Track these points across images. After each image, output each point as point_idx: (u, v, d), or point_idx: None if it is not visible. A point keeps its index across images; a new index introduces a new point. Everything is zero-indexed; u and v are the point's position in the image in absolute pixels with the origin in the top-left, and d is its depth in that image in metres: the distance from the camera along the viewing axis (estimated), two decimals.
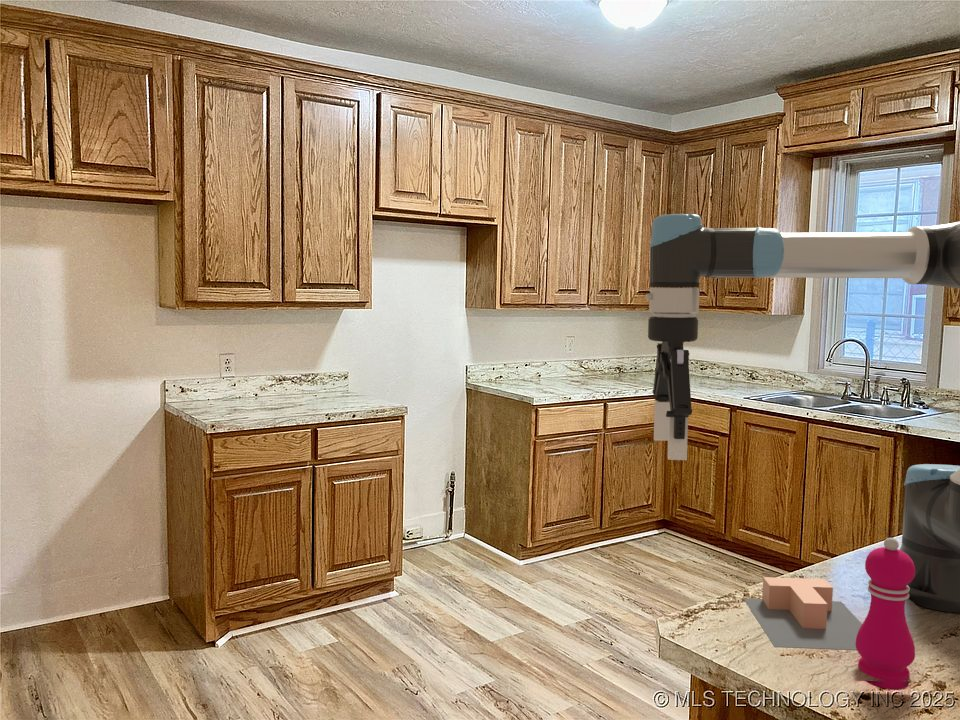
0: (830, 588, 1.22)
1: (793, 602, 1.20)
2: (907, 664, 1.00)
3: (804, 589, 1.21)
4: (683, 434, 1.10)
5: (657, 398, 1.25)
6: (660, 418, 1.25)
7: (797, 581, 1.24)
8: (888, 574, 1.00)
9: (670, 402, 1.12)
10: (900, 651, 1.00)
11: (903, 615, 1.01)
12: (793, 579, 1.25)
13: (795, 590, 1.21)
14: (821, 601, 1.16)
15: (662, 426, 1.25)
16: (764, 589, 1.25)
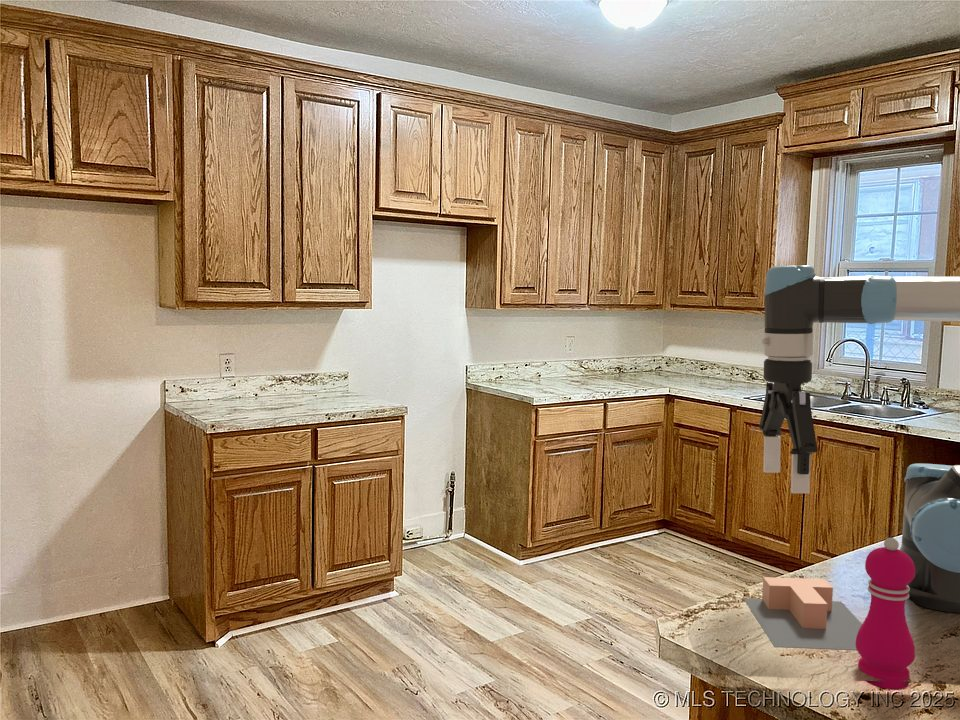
0: (830, 588, 1.22)
1: (793, 602, 1.20)
2: (907, 664, 1.00)
3: (804, 589, 1.21)
4: (807, 470, 1.19)
5: (766, 433, 1.34)
6: (770, 452, 1.34)
7: (797, 581, 1.24)
8: (888, 574, 1.00)
9: (793, 440, 1.21)
10: (901, 651, 1.00)
11: (903, 615, 1.01)
12: (793, 579, 1.25)
13: (795, 590, 1.21)
14: (821, 601, 1.16)
15: (772, 459, 1.34)
16: (764, 589, 1.25)
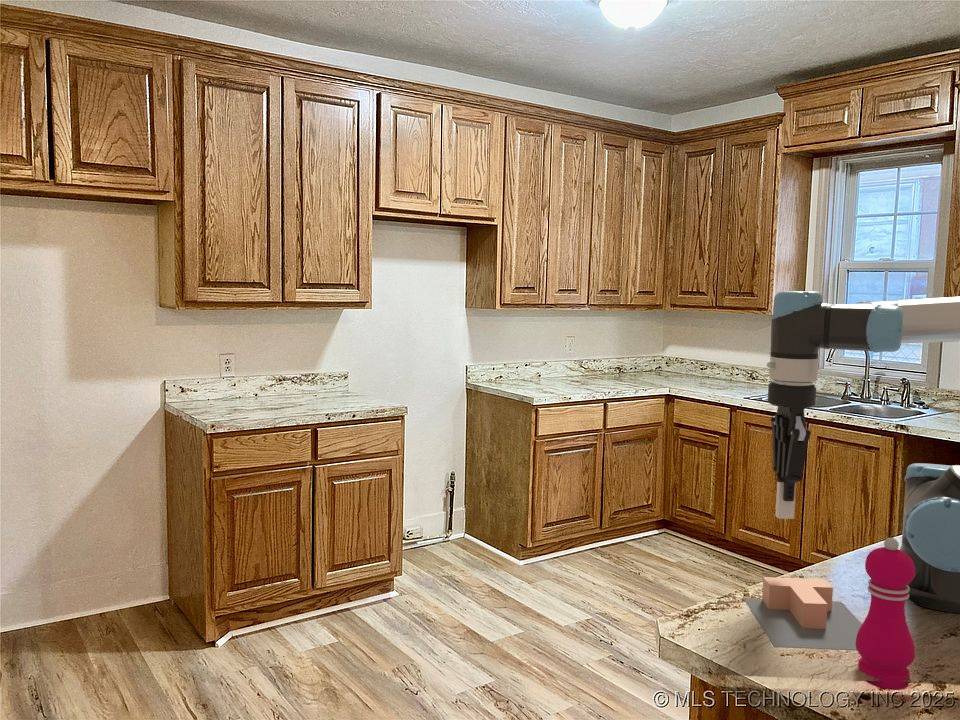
0: (830, 588, 1.22)
1: (793, 602, 1.20)
2: (907, 664, 1.00)
3: (804, 589, 1.21)
4: (792, 497, 1.27)
5: (780, 473, 1.30)
6: None
7: (797, 581, 1.24)
8: (888, 574, 1.00)
9: (782, 468, 1.27)
10: (900, 651, 1.00)
11: (903, 615, 1.01)
12: (793, 579, 1.25)
13: (795, 590, 1.21)
14: (821, 601, 1.16)
15: None
16: (764, 589, 1.25)
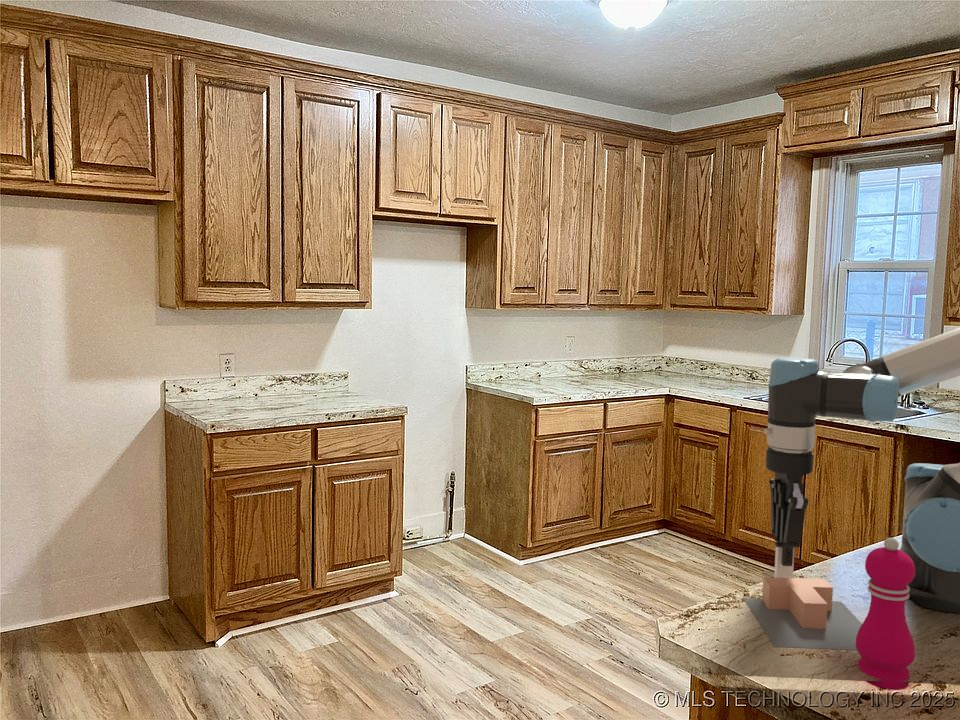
0: (830, 588, 1.22)
1: (793, 602, 1.20)
2: (907, 664, 1.00)
3: (804, 589, 1.21)
4: (791, 562, 1.28)
5: (778, 538, 1.31)
6: None
7: (797, 581, 1.24)
8: (888, 574, 1.00)
9: (781, 533, 1.28)
10: (900, 651, 1.00)
11: (903, 615, 1.01)
12: (793, 579, 1.25)
13: (795, 590, 1.21)
14: (821, 601, 1.16)
15: None
16: (764, 589, 1.25)
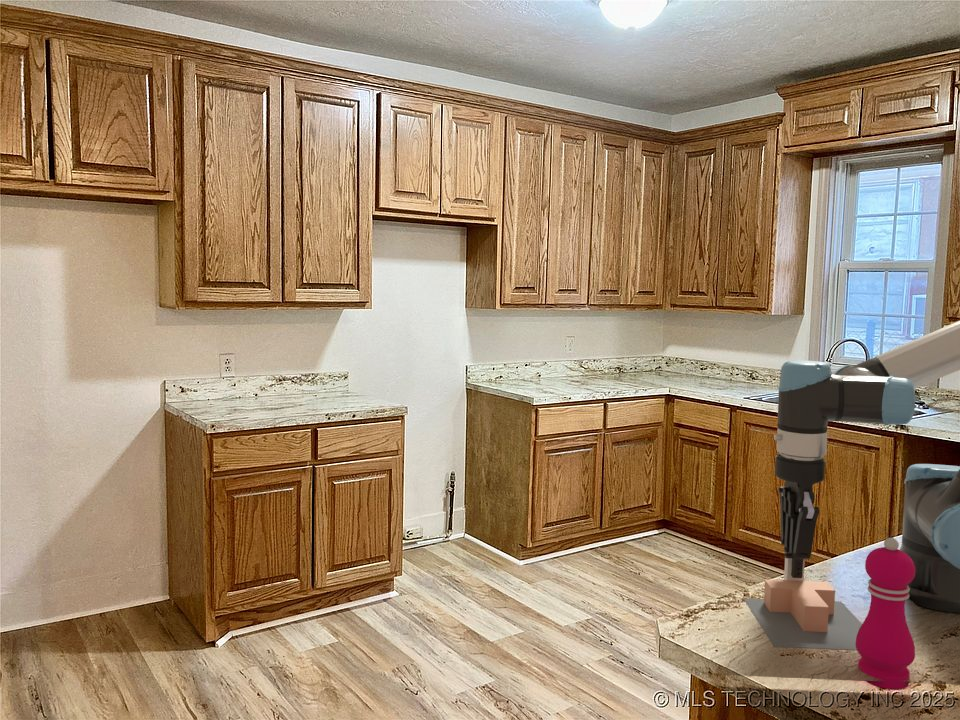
0: (832, 591, 1.21)
1: (795, 604, 1.19)
2: (907, 664, 1.00)
3: (805, 592, 1.20)
4: (801, 574, 1.23)
5: (788, 548, 1.25)
6: None
7: (799, 584, 1.23)
8: (888, 574, 1.00)
9: (790, 544, 1.23)
10: (900, 651, 1.00)
11: (903, 615, 1.01)
12: (795, 582, 1.24)
13: (796, 593, 1.19)
14: (823, 604, 1.15)
15: None
16: (765, 591, 1.24)
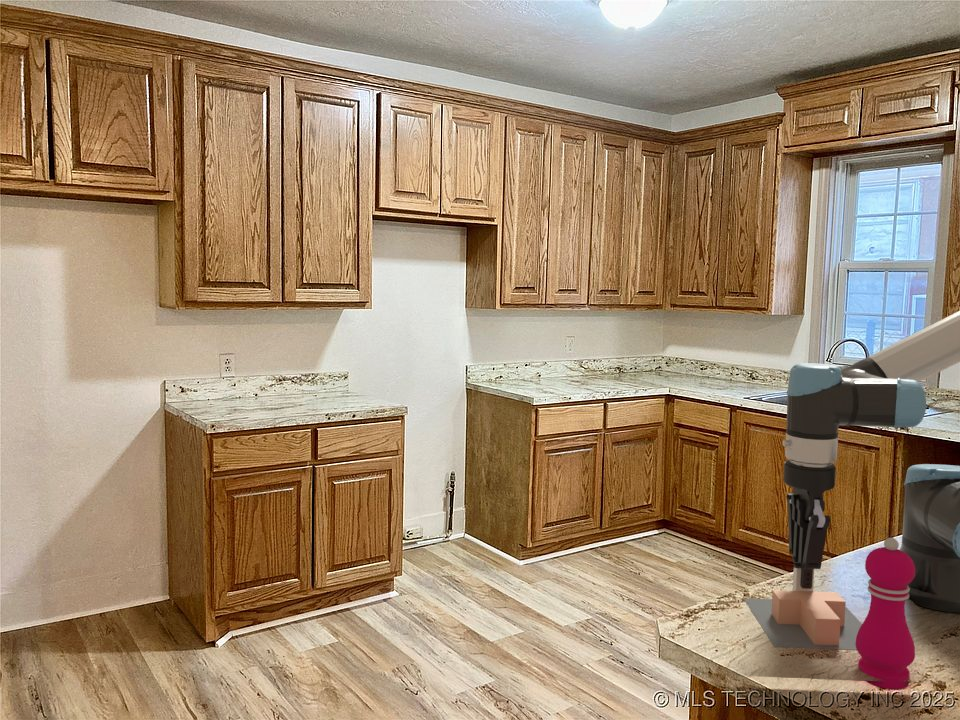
0: (843, 602, 1.16)
1: (804, 616, 1.15)
2: (907, 664, 1.00)
3: (815, 604, 1.15)
4: (810, 584, 1.19)
5: (797, 558, 1.21)
6: None
7: (808, 595, 1.19)
8: (888, 574, 1.00)
9: (800, 553, 1.19)
10: (900, 651, 1.00)
11: (903, 615, 1.01)
12: (804, 593, 1.19)
13: (806, 604, 1.15)
14: (834, 616, 1.11)
15: None
16: (773, 602, 1.20)
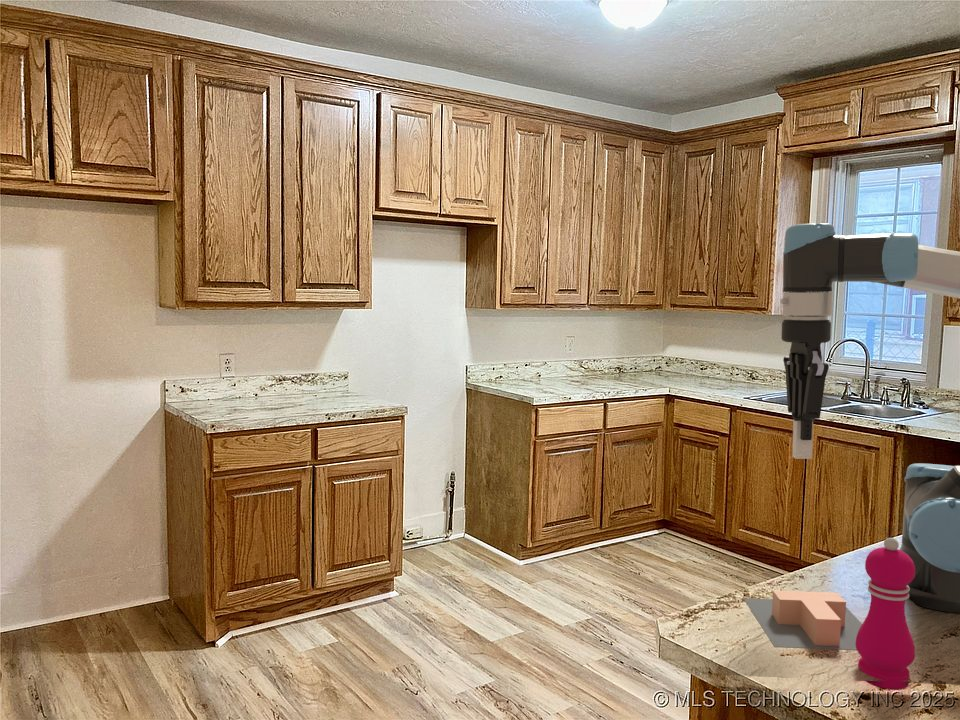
0: (843, 602, 1.16)
1: (805, 617, 1.15)
2: (907, 664, 1.00)
3: (816, 604, 1.15)
4: (810, 436, 1.25)
5: (796, 413, 1.27)
6: None
7: (809, 595, 1.18)
8: (888, 574, 1.00)
9: (799, 407, 1.25)
10: (900, 651, 1.00)
11: (903, 615, 1.01)
12: (804, 593, 1.19)
13: (807, 605, 1.15)
14: (835, 617, 1.11)
15: None
16: (774, 603, 1.20)
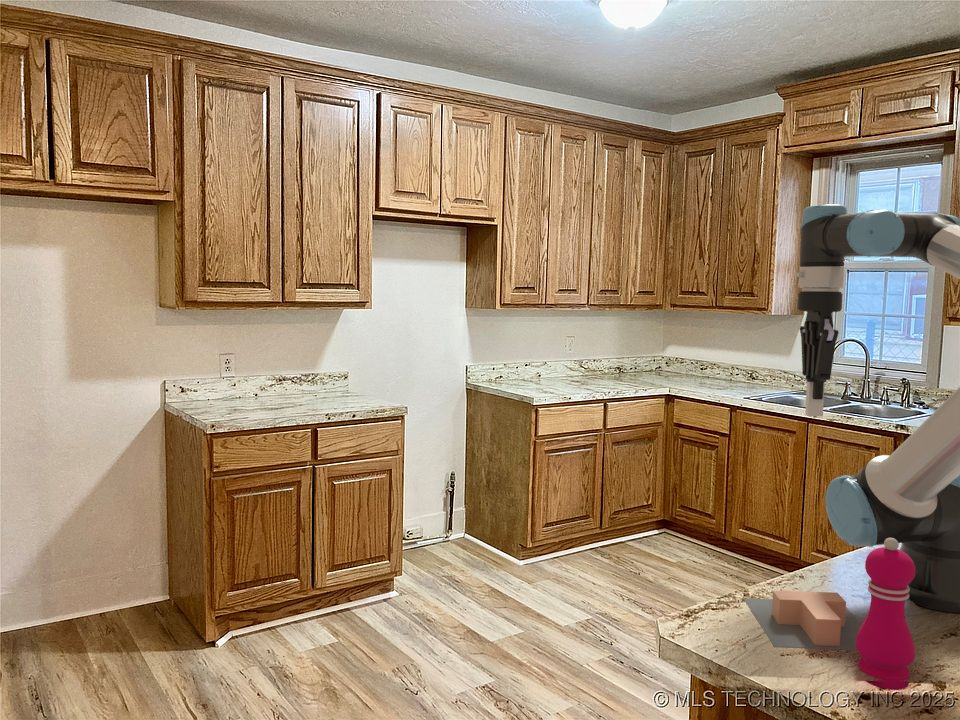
0: (843, 602, 1.16)
1: (805, 617, 1.15)
2: (907, 664, 1.00)
3: (816, 604, 1.15)
4: (821, 395, 1.39)
5: (809, 375, 1.42)
6: None
7: (809, 595, 1.18)
8: (888, 574, 1.00)
9: (812, 369, 1.39)
10: (900, 651, 1.00)
11: (903, 615, 1.01)
12: (804, 593, 1.19)
13: (807, 605, 1.15)
14: (835, 617, 1.11)
15: None
16: (774, 603, 1.20)
